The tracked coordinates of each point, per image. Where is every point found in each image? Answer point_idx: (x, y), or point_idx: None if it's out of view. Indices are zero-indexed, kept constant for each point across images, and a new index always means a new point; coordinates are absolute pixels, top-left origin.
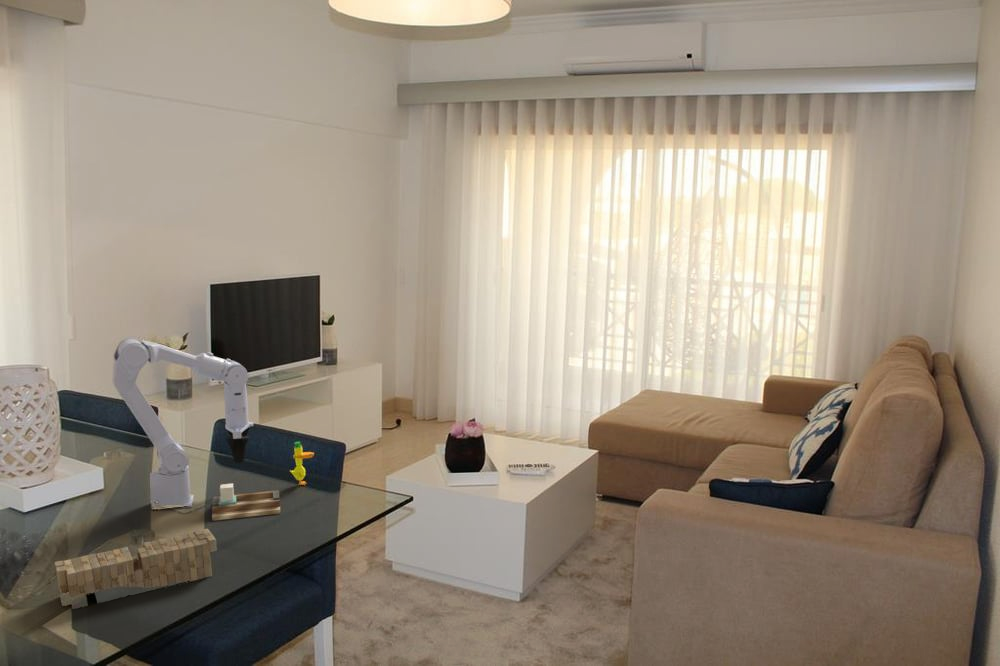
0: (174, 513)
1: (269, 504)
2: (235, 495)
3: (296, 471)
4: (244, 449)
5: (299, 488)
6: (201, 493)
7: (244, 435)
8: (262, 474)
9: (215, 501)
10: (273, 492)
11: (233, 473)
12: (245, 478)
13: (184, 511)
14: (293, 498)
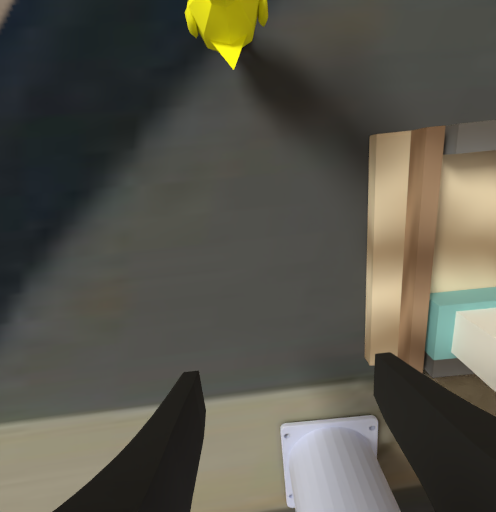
0: None
1: None
2: (443, 307)
3: (253, 20)
4: (484, 413)
5: (278, 42)
6: (251, 406)
7: (158, 497)
8: (61, 233)
9: None
10: (468, 150)
11: (46, 341)
12: (109, 293)
13: None
14: (407, 66)
